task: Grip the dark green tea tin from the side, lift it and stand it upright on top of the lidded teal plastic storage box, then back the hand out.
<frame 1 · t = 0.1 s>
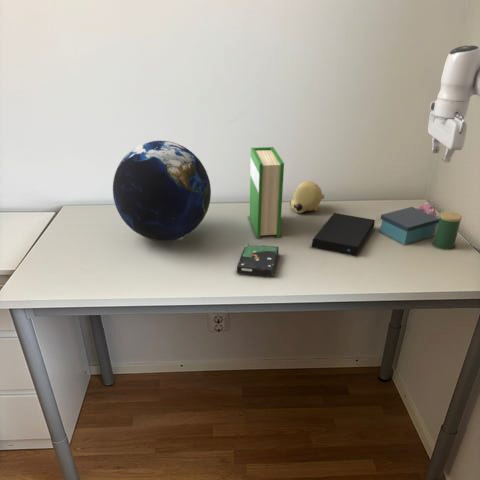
hand: (440, 157, 156), 25 cm above the table, tool pointing down, fingers open, 8 cm apart
tea tin: (443, 245, 162), on the table
video game controller: (422, 221, 179), on the table
toy pig: (305, 210, 186), on the table
globe: (166, 237, 167), on the table
external hard drive: (343, 238, 167), on the table
storage box: (406, 233, 169), on the table
hardback book: (264, 227, 174), on the table
disk drive: (258, 264, 151), on the table
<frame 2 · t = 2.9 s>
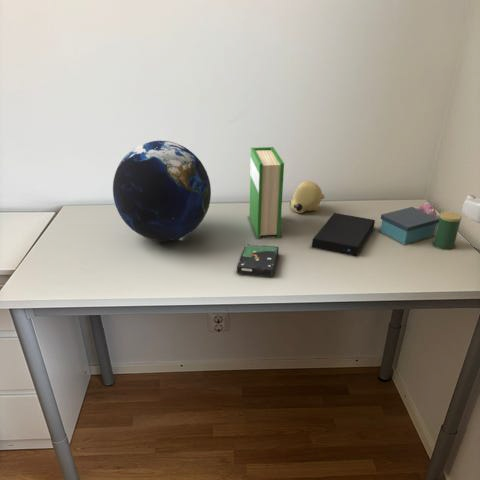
nothing on the table moved.
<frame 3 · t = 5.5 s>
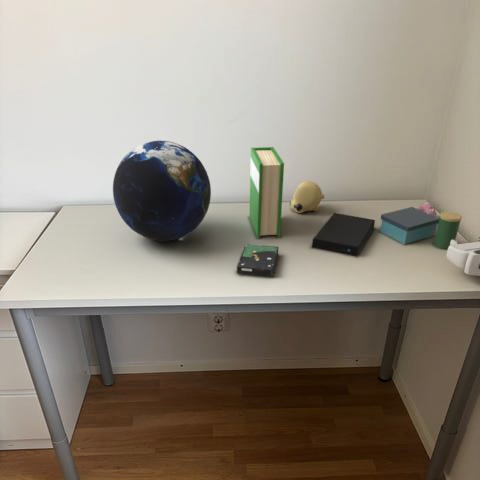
hand: (466, 240, 151), 6 cm above the table, tool horizontal, fingers open, 8 cm apart
nothing on the table moved.
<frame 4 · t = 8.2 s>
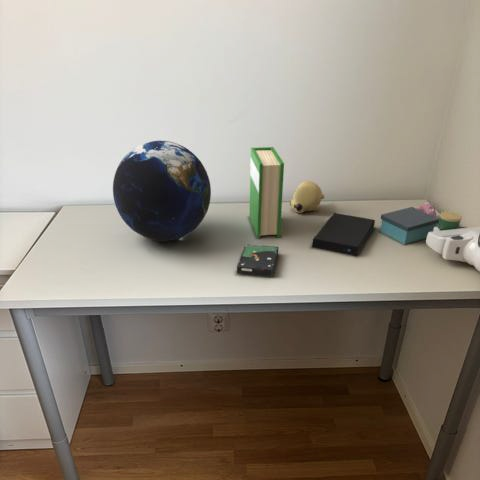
hand: (446, 227, 160), 6 cm above the table, tool horizontal, fingers closed on tea tin, 6 cm apart
tea tin: (443, 245, 162), on the table, touching gripper
everything else where it was.
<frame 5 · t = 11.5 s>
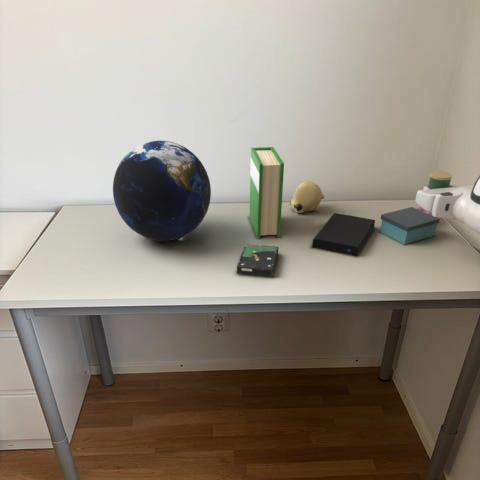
hand: (436, 187, 157), 17 cm above the table, tool horizontal, fingers closed on tea tin, 6 cm apart
tea tin: (434, 206, 159), point 11 cm above the table, touching gripper
everything else where it was.
when the fingers open (11 cm above the table, at t = 14.8 s): tea tin stays where it is, resting on storage box.
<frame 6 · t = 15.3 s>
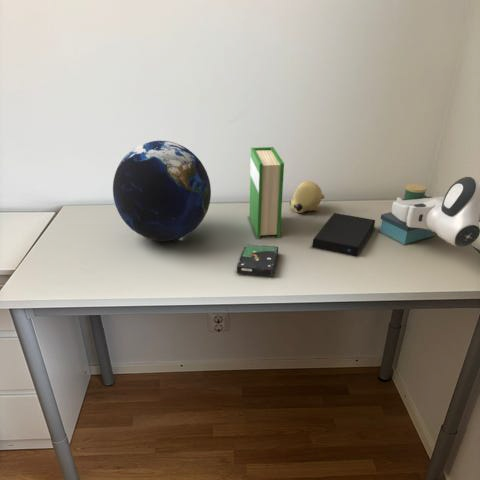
hand: (412, 198, 164), 12 cm above the table, tool horizontal, fingers open, 8 cm apart
tea tin: (410, 216, 166), point 6 cm above the table, touching storage box
everything else where it was.
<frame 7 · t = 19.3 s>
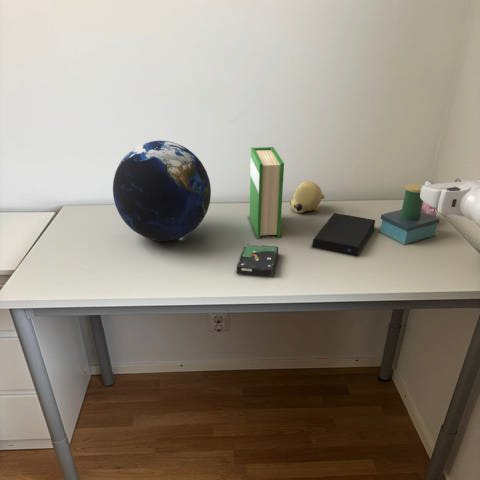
hand: (441, 182, 148), 21 cm above the table, tool horizontal, fingers open, 8 cm apart
nothing on the table moved.
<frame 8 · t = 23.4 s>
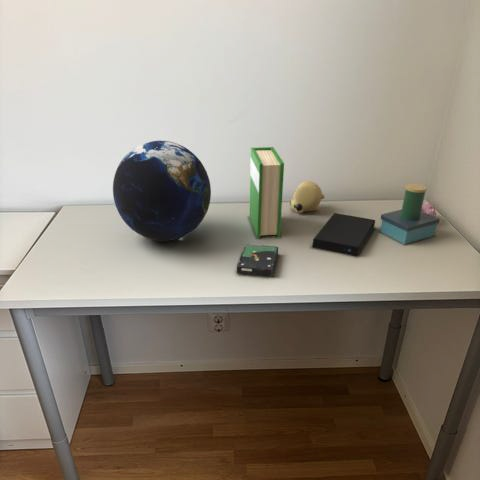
nothing on the table moved.
at the end: tea tin inside the target area on the storage box (0.1 cm from its centre), point 6.0 cm above the storage box's base; tea tin tilted 0°; the gripper is holding nothing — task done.
